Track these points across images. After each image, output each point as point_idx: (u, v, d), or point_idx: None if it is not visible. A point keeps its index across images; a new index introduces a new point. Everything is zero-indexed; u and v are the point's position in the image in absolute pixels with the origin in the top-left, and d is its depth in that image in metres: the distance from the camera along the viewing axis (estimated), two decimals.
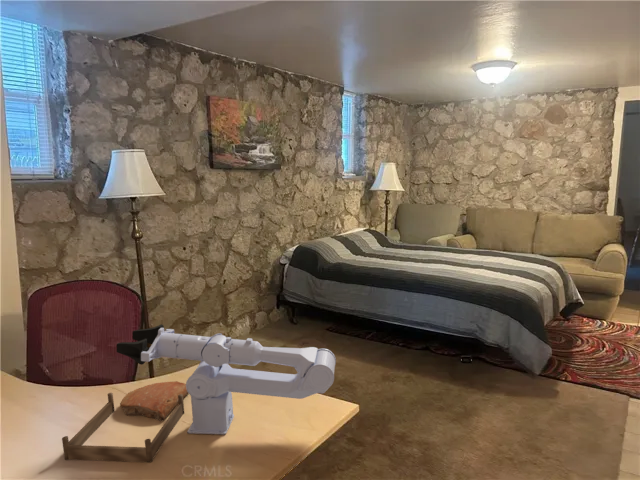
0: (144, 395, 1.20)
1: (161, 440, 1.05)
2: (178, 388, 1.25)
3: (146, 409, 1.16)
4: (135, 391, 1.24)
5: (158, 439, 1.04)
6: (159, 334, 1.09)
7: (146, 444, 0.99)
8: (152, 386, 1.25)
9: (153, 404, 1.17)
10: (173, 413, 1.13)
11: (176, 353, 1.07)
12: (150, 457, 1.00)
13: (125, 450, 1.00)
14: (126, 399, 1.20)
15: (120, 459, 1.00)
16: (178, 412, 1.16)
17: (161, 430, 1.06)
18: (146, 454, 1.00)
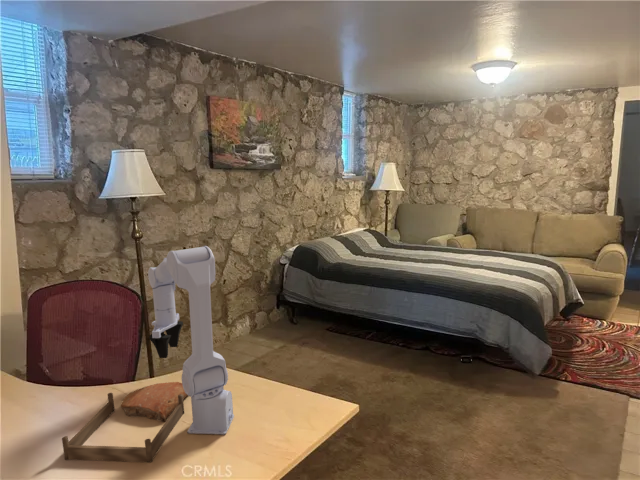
0: (145, 396, 1.20)
1: (161, 440, 1.05)
2: (179, 388, 1.24)
3: (147, 409, 1.15)
4: (136, 392, 1.23)
5: (158, 439, 1.04)
6: (154, 324, 1.31)
7: (146, 444, 0.99)
8: (153, 386, 1.25)
9: (154, 405, 1.16)
10: (173, 413, 1.13)
11: (162, 310, 1.28)
12: (150, 457, 1.00)
13: (125, 450, 1.00)
14: (127, 400, 1.20)
15: (120, 459, 1.00)
16: (178, 412, 1.16)
17: (161, 430, 1.06)
18: (146, 454, 1.00)
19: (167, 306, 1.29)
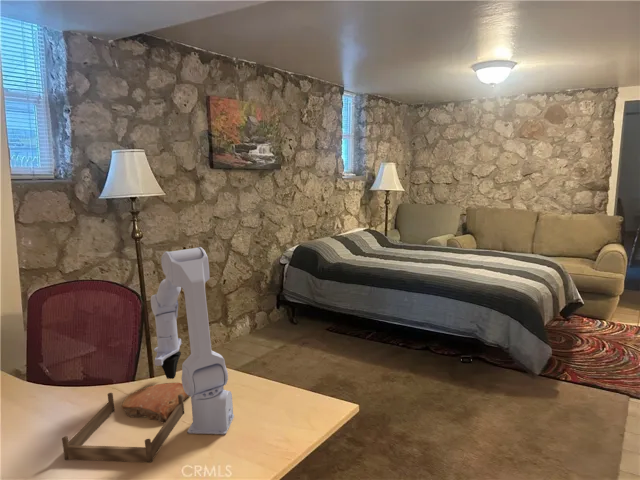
0: (146, 397, 1.19)
1: (161, 440, 1.05)
2: (180, 389, 1.24)
3: (148, 410, 1.15)
4: (137, 392, 1.23)
5: (158, 439, 1.04)
6: (156, 350, 1.33)
7: (146, 444, 0.99)
8: (154, 387, 1.24)
9: (155, 406, 1.16)
10: (173, 413, 1.13)
11: (165, 337, 1.30)
12: (150, 457, 1.00)
13: (125, 450, 1.00)
14: (128, 401, 1.19)
15: (120, 459, 1.00)
16: (178, 412, 1.16)
17: (161, 430, 1.06)
18: (146, 454, 1.00)
19: (169, 333, 1.30)
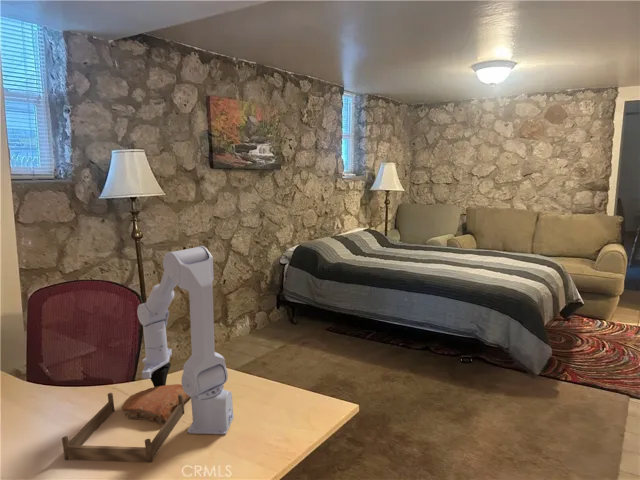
0: (147, 399, 1.18)
1: (161, 440, 1.05)
2: (180, 391, 1.23)
3: (148, 412, 1.14)
4: (137, 394, 1.22)
5: (158, 439, 1.04)
6: (145, 362, 1.25)
7: (146, 444, 0.99)
8: (155, 389, 1.23)
9: (155, 408, 1.15)
10: (173, 413, 1.13)
11: (153, 348, 1.23)
12: (150, 457, 1.00)
13: (125, 450, 1.00)
14: (128, 403, 1.18)
15: (120, 459, 1.00)
16: (178, 412, 1.16)
17: (161, 430, 1.06)
18: (146, 454, 1.00)
19: (160, 343, 1.23)
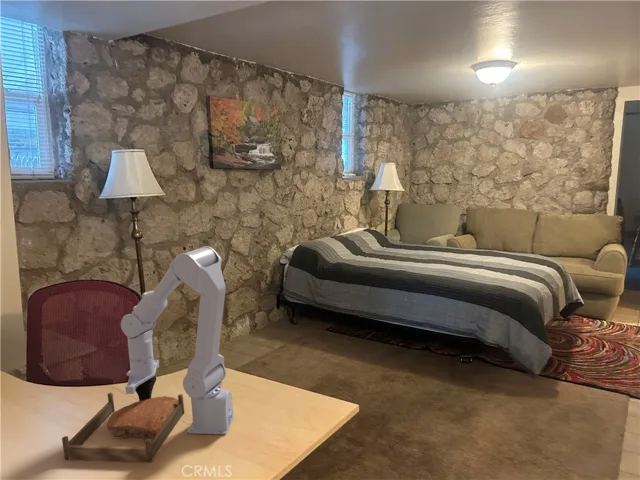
0: (134, 414, 1.11)
1: (161, 440, 1.05)
2: (169, 403, 1.16)
3: (138, 429, 1.07)
4: (121, 410, 1.14)
5: (158, 439, 1.04)
6: (129, 375, 1.17)
7: (146, 444, 0.99)
8: (140, 403, 1.16)
9: (146, 423, 1.08)
10: (173, 413, 1.13)
11: (138, 360, 1.15)
12: (150, 457, 1.00)
13: (125, 450, 1.00)
14: (113, 420, 1.10)
15: (120, 459, 1.00)
16: (178, 412, 1.16)
17: (161, 430, 1.06)
18: (146, 454, 1.00)
19: (149, 354, 1.16)
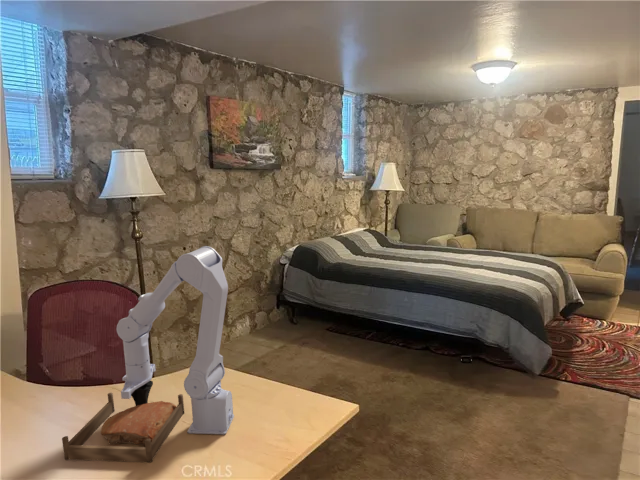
0: (129, 420, 1.08)
1: (161, 440, 1.05)
2: (165, 408, 1.14)
3: (133, 435, 1.04)
4: (116, 416, 1.11)
5: (158, 439, 1.04)
6: (125, 379, 1.15)
7: (146, 444, 0.99)
8: (136, 408, 1.13)
9: (141, 429, 1.05)
10: (173, 413, 1.13)
11: (134, 365, 1.12)
12: (150, 457, 1.00)
13: (125, 450, 1.00)
14: (107, 426, 1.08)
15: (120, 459, 1.00)
16: (178, 412, 1.16)
17: (161, 430, 1.06)
18: (146, 454, 1.00)
19: (146, 358, 1.14)
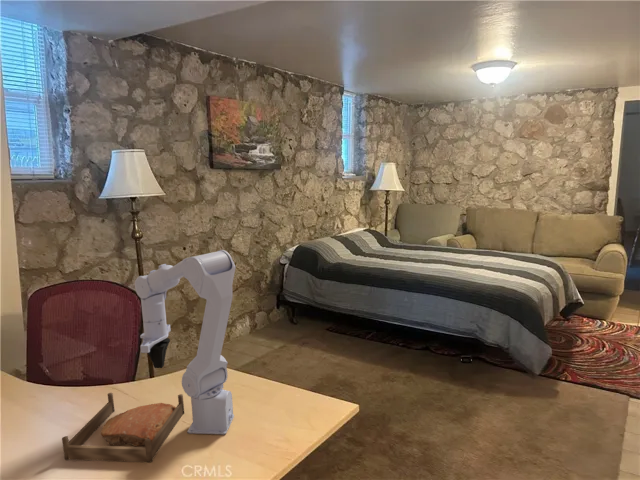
0: (129, 422, 1.08)
1: (161, 440, 1.05)
2: (165, 410, 1.14)
3: (133, 437, 1.04)
4: (116, 417, 1.11)
5: (158, 439, 1.04)
6: (143, 337, 1.21)
7: (146, 444, 0.99)
8: (136, 410, 1.13)
9: (141, 431, 1.05)
10: (173, 413, 1.13)
11: (152, 322, 1.18)
12: (150, 457, 1.00)
13: (125, 450, 1.00)
14: (107, 428, 1.08)
15: (120, 459, 1.00)
16: (178, 412, 1.16)
17: (161, 430, 1.06)
18: (146, 454, 1.00)
19: (160, 317, 1.19)
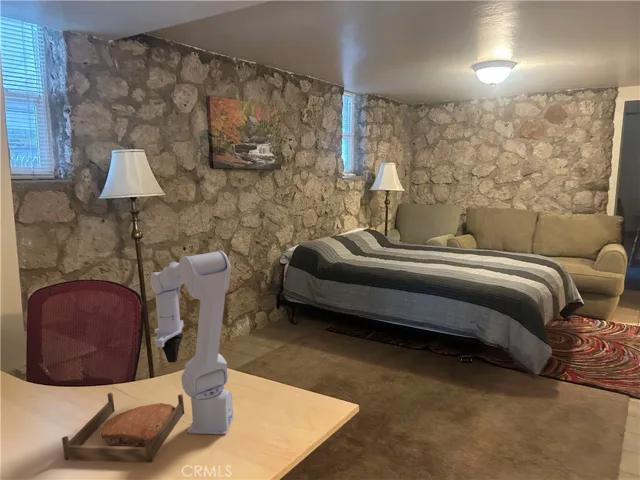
0: (129, 422, 1.08)
1: (161, 440, 1.05)
2: (165, 410, 1.14)
3: (133, 437, 1.04)
4: (116, 418, 1.11)
5: (158, 439, 1.04)
6: (157, 332, 1.24)
7: (146, 444, 0.99)
8: (135, 410, 1.13)
9: (140, 431, 1.05)
10: (173, 413, 1.13)
11: (166, 317, 1.21)
12: (150, 457, 1.00)
13: (125, 450, 1.00)
14: (107, 428, 1.08)
15: (120, 459, 1.00)
16: (178, 412, 1.16)
17: (161, 430, 1.06)
18: (146, 454, 1.00)
19: (172, 313, 1.22)
